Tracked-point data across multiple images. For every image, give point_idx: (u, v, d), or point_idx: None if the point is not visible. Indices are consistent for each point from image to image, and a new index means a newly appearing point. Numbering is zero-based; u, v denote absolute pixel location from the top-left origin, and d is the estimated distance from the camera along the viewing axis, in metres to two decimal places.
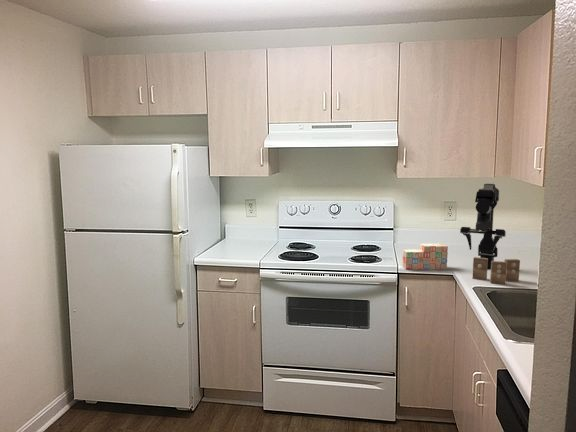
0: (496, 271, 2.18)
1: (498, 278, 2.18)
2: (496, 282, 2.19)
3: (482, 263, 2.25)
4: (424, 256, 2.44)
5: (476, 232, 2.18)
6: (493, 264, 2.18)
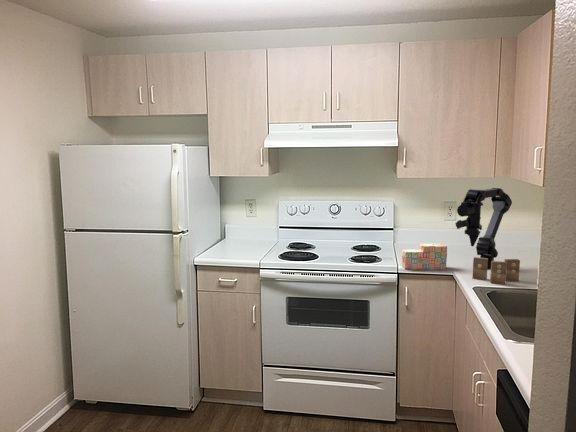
0: (496, 271, 2.18)
1: (498, 278, 2.18)
2: (496, 282, 2.19)
3: (482, 263, 2.25)
4: (423, 256, 2.44)
5: None
6: (493, 264, 2.18)
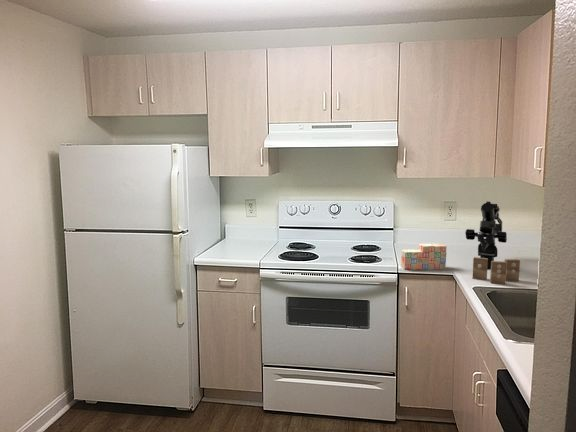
0: (496, 271, 2.18)
1: (498, 278, 2.18)
2: (496, 282, 2.19)
3: (482, 263, 2.25)
4: (423, 256, 2.44)
5: None
6: (493, 264, 2.18)
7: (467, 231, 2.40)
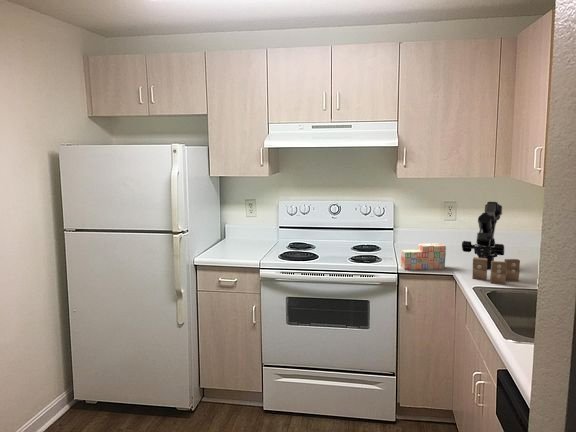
0: (496, 271, 2.18)
1: (498, 278, 2.18)
2: (496, 282, 2.19)
3: (482, 264, 2.23)
4: (423, 256, 2.44)
5: None
6: (493, 264, 2.18)
7: (463, 243, 2.32)
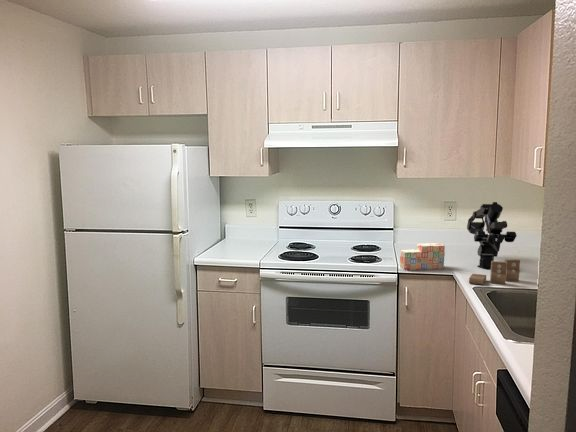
0: (496, 271, 2.18)
1: (498, 278, 2.18)
2: (496, 282, 2.19)
3: None
4: (422, 255, 2.44)
5: None
6: (493, 264, 2.18)
7: (479, 233, 2.34)
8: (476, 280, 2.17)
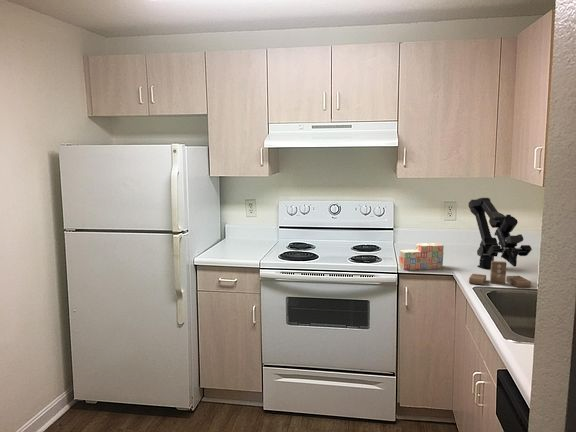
0: (496, 271, 2.18)
1: (498, 278, 2.18)
2: (496, 282, 2.19)
3: None
4: (421, 255, 2.45)
5: None
6: (493, 264, 2.18)
7: (494, 248, 2.22)
8: (476, 280, 2.17)
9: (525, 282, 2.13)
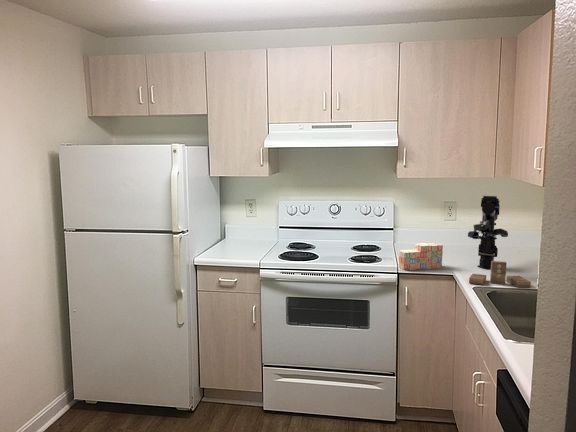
0: (496, 271, 2.18)
1: (498, 278, 2.18)
2: (496, 282, 2.19)
3: None
4: (421, 255, 2.45)
5: None
6: (493, 264, 2.18)
7: (468, 234, 2.41)
8: (476, 280, 2.17)
9: (525, 282, 2.13)
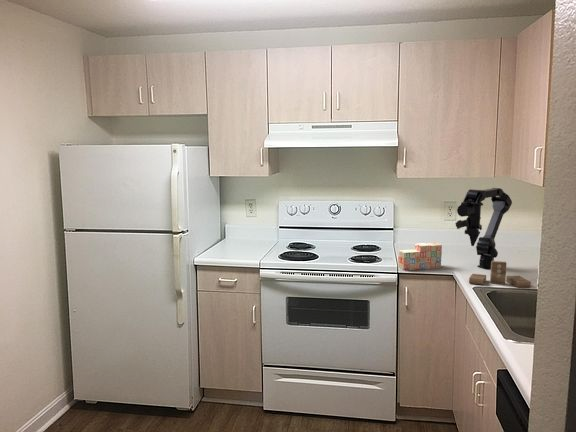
0: (496, 271, 2.18)
1: (498, 278, 2.18)
2: (496, 282, 2.19)
3: None
4: (420, 255, 2.45)
5: None
6: (493, 264, 2.18)
7: None
8: (476, 280, 2.17)
9: (525, 282, 2.13)
